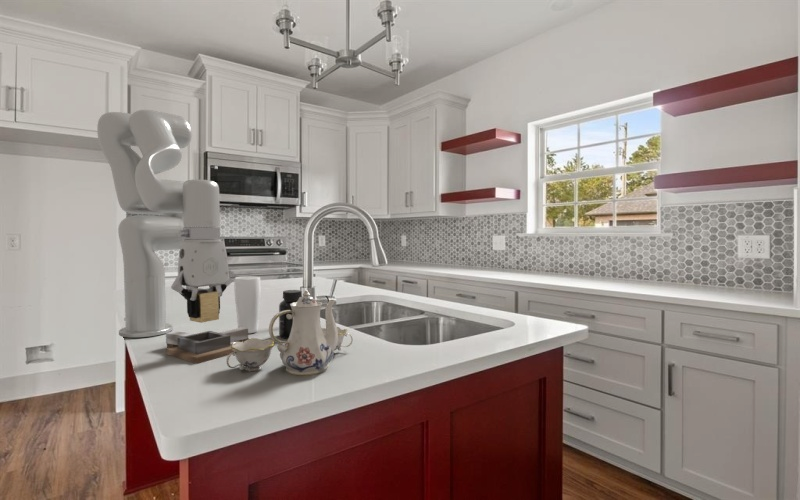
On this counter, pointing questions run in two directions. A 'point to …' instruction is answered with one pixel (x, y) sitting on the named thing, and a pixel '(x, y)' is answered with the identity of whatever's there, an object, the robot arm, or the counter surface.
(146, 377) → the counter surface
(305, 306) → the chinaware
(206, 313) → the block
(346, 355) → the counter surface
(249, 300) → the drinking glass
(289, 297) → the supplement bottle
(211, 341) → the shaft rig
